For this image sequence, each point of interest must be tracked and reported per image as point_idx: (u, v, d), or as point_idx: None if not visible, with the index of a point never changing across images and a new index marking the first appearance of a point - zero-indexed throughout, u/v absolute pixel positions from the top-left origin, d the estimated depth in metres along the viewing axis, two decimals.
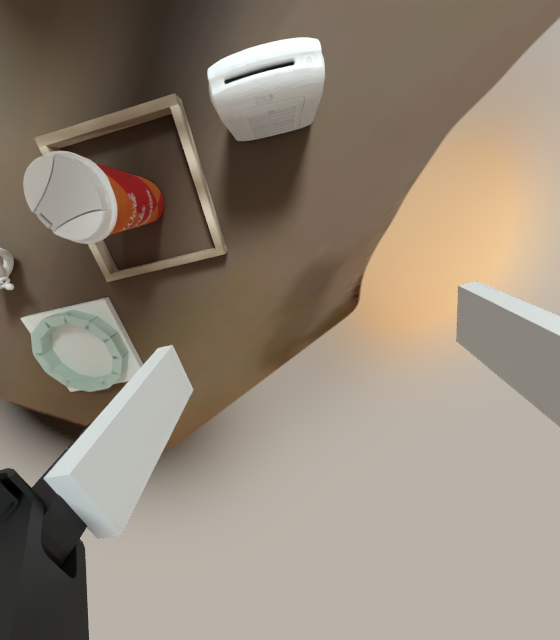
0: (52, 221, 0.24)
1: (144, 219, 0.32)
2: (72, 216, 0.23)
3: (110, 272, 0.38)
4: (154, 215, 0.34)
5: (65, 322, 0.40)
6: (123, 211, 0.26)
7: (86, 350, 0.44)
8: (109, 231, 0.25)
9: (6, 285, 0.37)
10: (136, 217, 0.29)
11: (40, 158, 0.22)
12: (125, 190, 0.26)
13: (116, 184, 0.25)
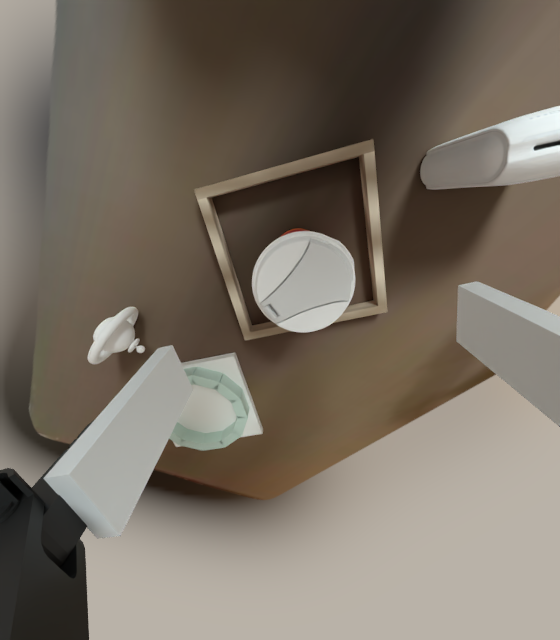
0: (281, 313, 0.19)
1: None
2: (308, 307, 0.19)
3: (250, 330, 0.34)
4: None
5: (192, 383, 0.36)
6: None
7: (202, 406, 0.40)
8: None
9: (139, 348, 0.32)
10: None
11: (291, 245, 0.17)
12: None
13: None
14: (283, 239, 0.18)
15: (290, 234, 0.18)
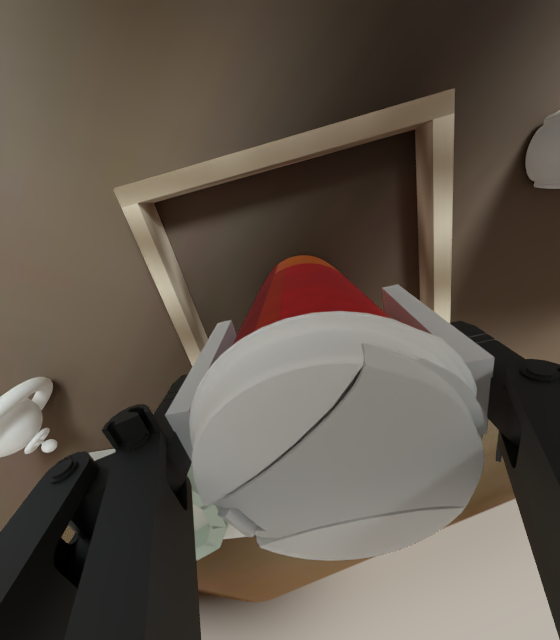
0: (269, 527, 0.07)
1: None
2: (345, 518, 0.07)
3: None
4: None
5: None
6: None
7: None
8: None
9: (44, 446, 0.20)
10: None
11: (300, 373, 0.05)
12: None
13: None
14: (272, 337, 0.06)
15: (294, 322, 0.06)
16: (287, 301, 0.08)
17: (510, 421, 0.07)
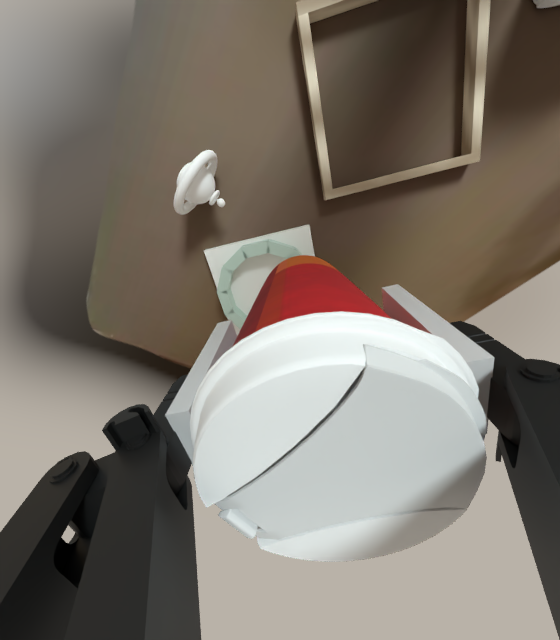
0: (270, 528, 0.07)
1: None
2: (346, 519, 0.07)
3: (332, 188, 0.33)
4: None
5: (266, 251, 0.35)
6: None
7: None
8: None
9: (220, 200, 0.31)
10: None
11: (301, 374, 0.05)
12: None
13: None
14: (273, 337, 0.06)
15: (295, 323, 0.06)
16: (288, 301, 0.08)
17: (510, 421, 0.07)
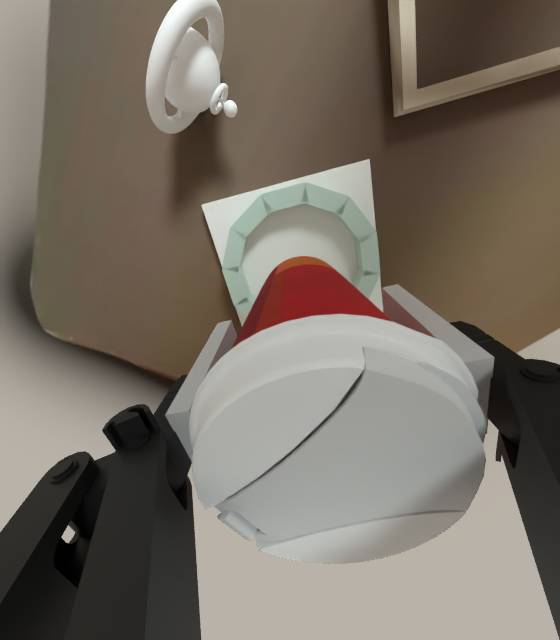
0: (269, 530, 0.07)
1: None
2: (345, 521, 0.07)
3: None
4: None
5: (302, 200, 0.22)
6: None
7: None
8: None
9: (229, 102, 0.18)
10: None
11: (300, 377, 0.05)
12: None
13: None
14: (273, 340, 0.06)
15: (295, 325, 0.06)
16: (287, 303, 0.08)
17: (510, 421, 0.07)
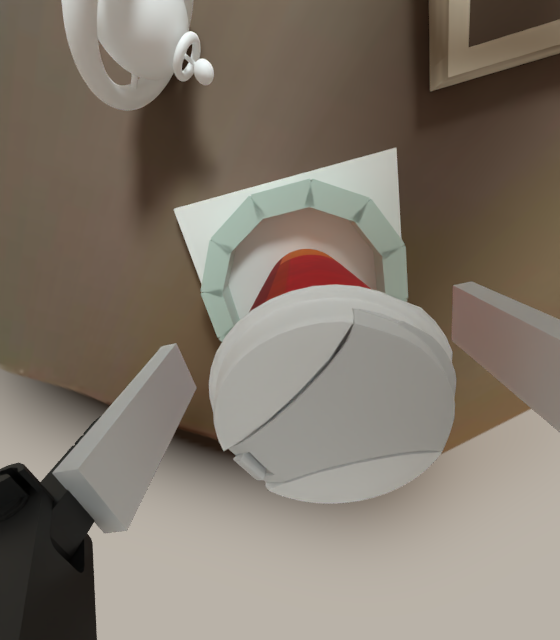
0: (276, 470, 0.08)
1: None
2: (340, 462, 0.08)
3: None
4: None
5: (306, 203, 0.16)
6: None
7: None
8: None
9: (201, 61, 0.12)
10: None
11: (302, 330, 0.06)
12: None
13: None
14: (280, 306, 0.07)
15: (298, 293, 0.07)
16: (292, 282, 0.09)
17: None
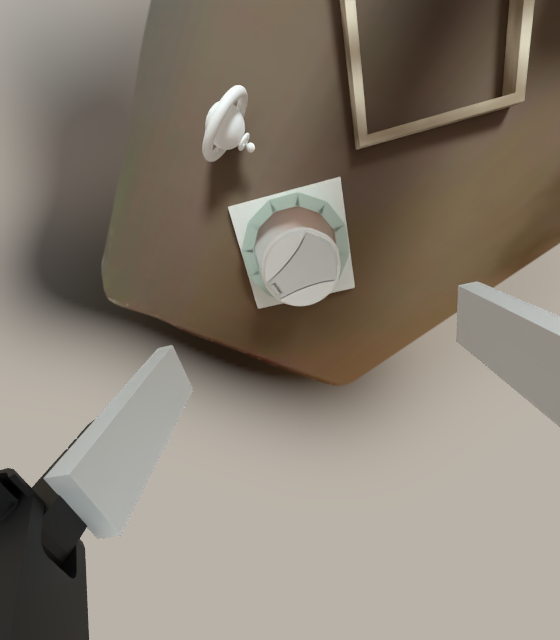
0: (283, 290, 0.25)
1: None
2: (304, 286, 0.25)
3: (366, 133, 0.31)
4: None
5: (296, 204, 0.33)
6: None
7: None
8: None
9: (250, 144, 0.29)
10: None
11: (291, 237, 0.23)
12: None
13: None
14: (285, 233, 0.24)
15: (290, 229, 0.24)
16: None
17: None
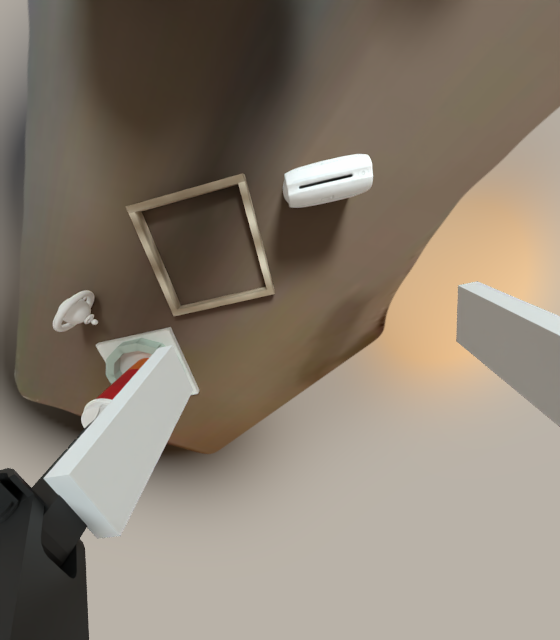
0: None
1: None
2: None
3: (177, 308, 0.45)
4: None
5: (136, 349, 0.48)
6: None
7: None
8: None
9: (93, 321, 0.44)
10: None
11: (92, 408, 0.38)
12: None
13: None
14: (92, 402, 0.39)
15: (95, 400, 0.39)
16: (106, 391, 0.41)
17: None
